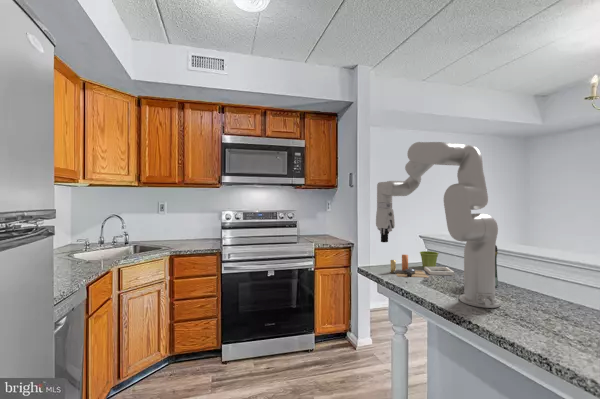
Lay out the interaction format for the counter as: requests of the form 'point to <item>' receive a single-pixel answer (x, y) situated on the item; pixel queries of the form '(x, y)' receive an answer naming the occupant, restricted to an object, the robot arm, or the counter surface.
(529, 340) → the counter surface
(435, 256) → the plant pot
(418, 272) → the crank base
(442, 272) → the tray
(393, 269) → the crank
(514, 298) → the counter surface
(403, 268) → the pin
